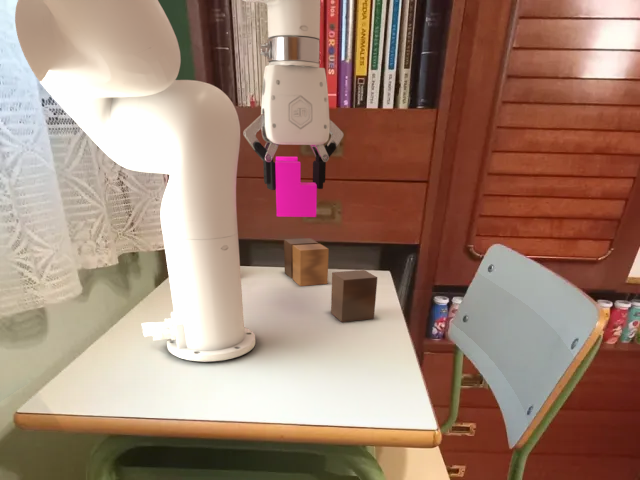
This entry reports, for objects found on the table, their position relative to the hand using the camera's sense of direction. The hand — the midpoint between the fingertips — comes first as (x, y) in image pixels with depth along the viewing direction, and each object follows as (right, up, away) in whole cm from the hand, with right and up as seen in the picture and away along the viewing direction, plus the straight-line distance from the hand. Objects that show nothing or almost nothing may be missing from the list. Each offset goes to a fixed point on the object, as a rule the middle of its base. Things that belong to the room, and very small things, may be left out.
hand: (295, 187), depth 80 cm
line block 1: (0, -7, +25) cm, 26 cm away
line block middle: (+2, -10, +20) cm, 22 cm away
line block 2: (+10, -21, +3) cm, 23 cm away
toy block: (0, -3, +2) cm, 4 cm away
